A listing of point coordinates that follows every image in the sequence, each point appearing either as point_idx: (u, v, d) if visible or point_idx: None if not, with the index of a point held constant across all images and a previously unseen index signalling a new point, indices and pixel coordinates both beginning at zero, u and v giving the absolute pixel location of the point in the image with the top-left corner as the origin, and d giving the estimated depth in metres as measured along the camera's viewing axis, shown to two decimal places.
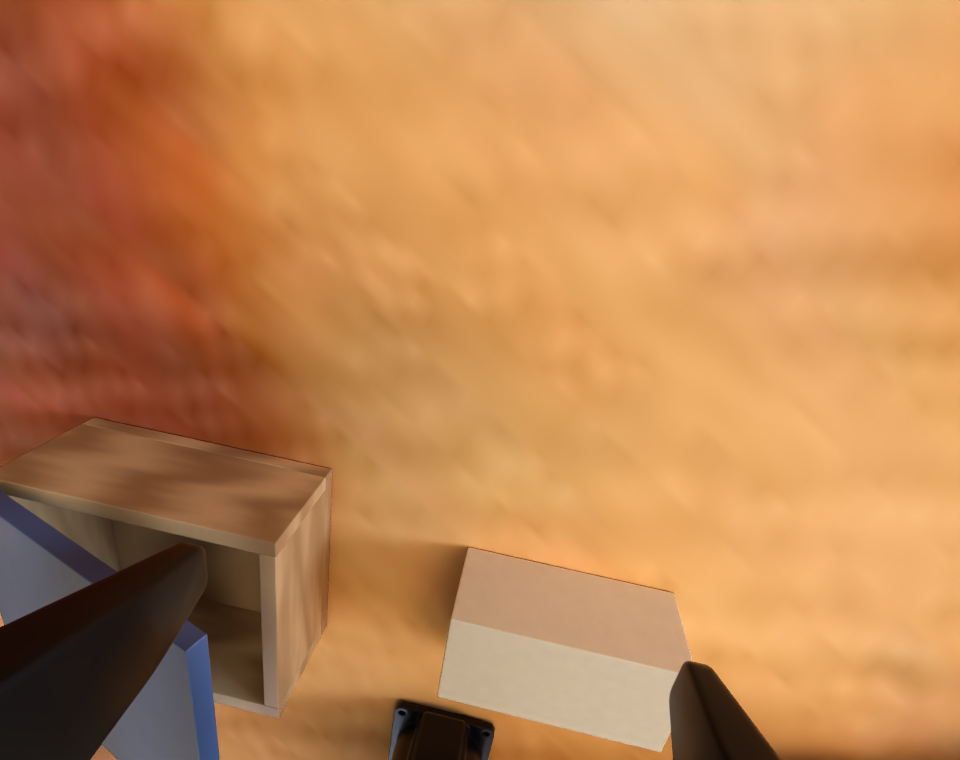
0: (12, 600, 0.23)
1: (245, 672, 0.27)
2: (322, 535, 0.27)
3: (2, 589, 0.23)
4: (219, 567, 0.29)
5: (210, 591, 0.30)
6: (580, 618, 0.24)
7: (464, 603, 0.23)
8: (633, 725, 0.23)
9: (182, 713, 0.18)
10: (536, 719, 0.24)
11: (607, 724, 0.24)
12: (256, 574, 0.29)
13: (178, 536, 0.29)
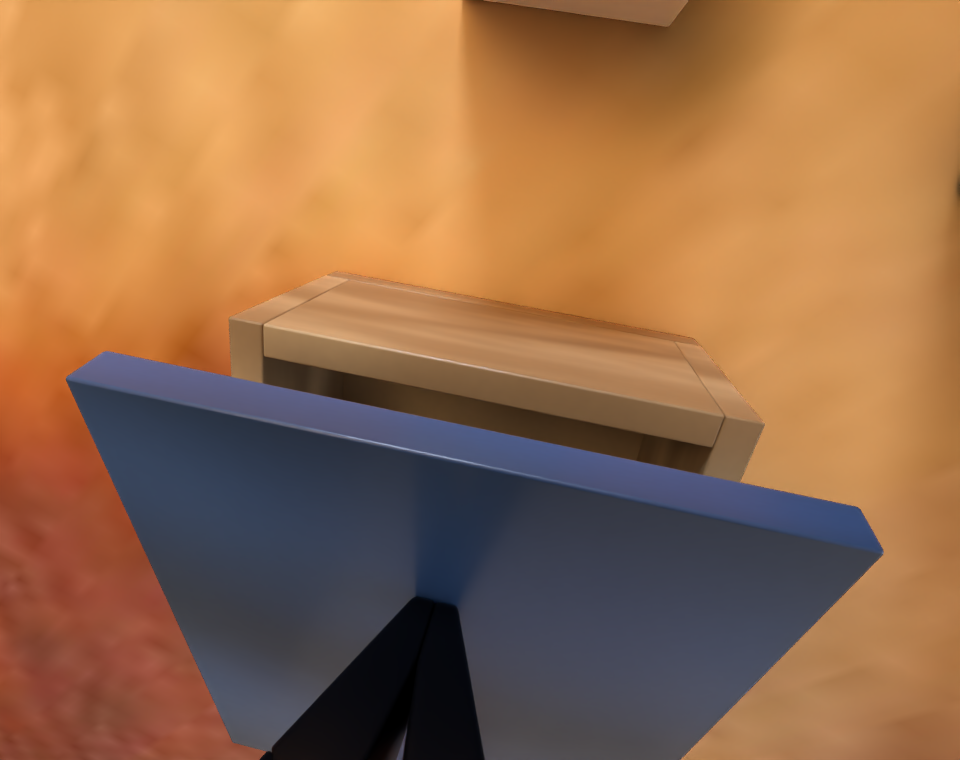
0: None
1: None
2: (434, 297, 0.15)
3: None
4: None
5: None
6: None
7: None
8: None
9: (307, 461, 0.07)
10: None
11: None
12: (546, 437, 0.17)
13: None
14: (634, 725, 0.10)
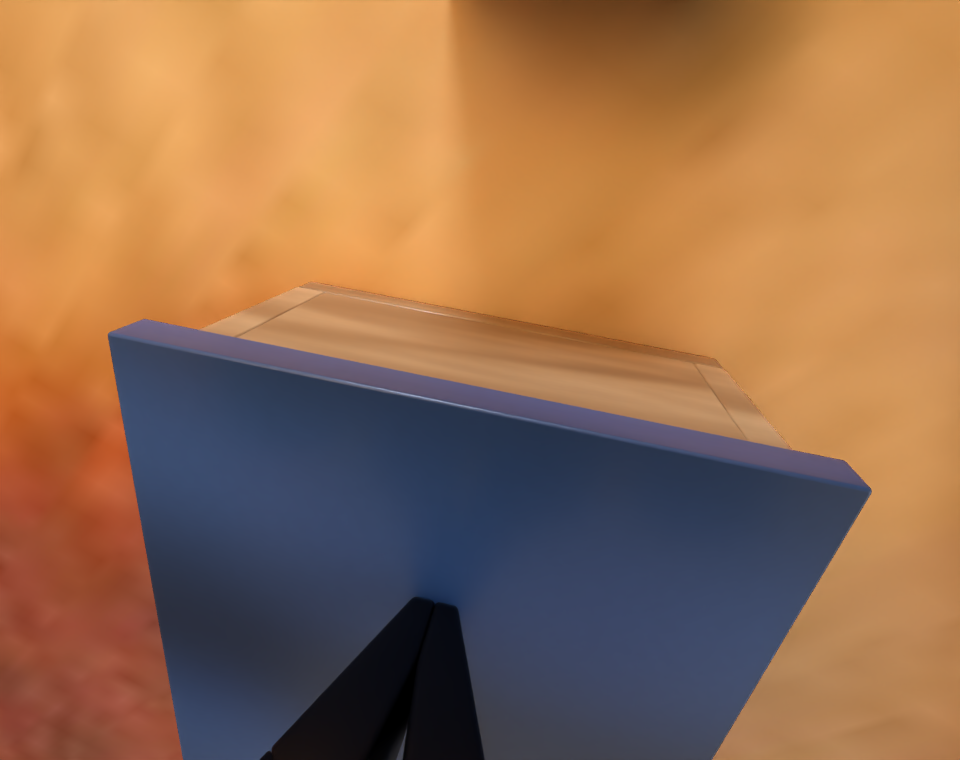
0: None
1: None
2: (420, 313, 0.13)
3: None
4: None
5: None
6: None
7: None
8: None
9: (330, 415, 0.08)
10: None
11: None
12: None
13: None
14: (645, 740, 0.10)
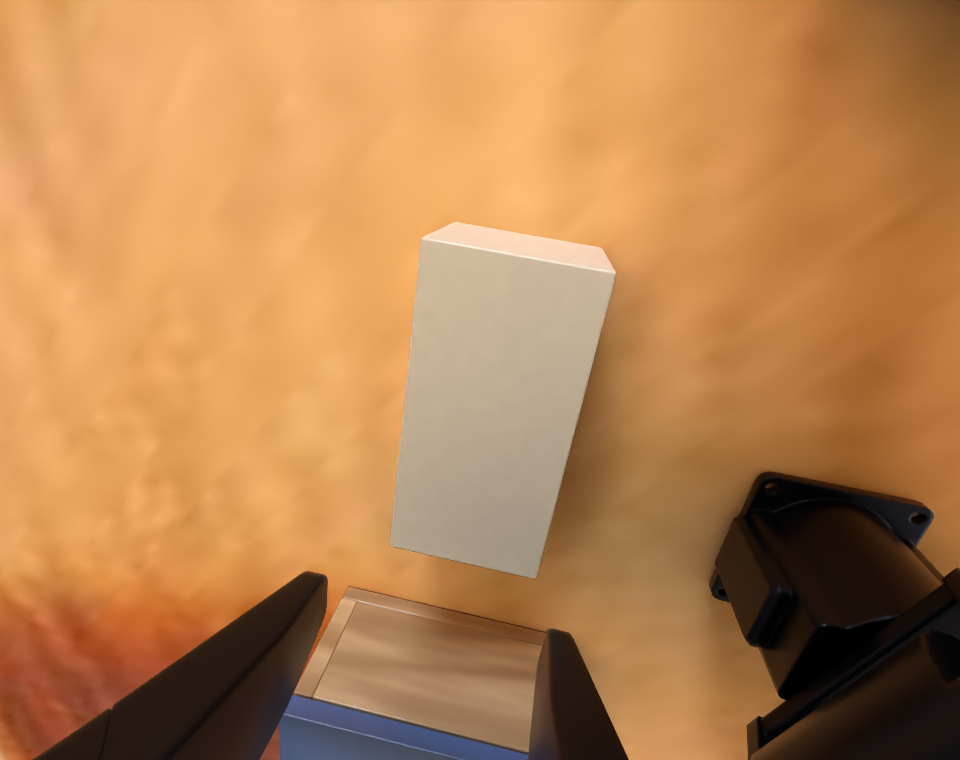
0: None
1: None
2: (409, 618, 0.25)
3: None
4: None
5: None
6: None
7: None
8: (550, 323, 0.14)
9: (369, 746, 0.19)
10: (560, 462, 0.16)
11: (554, 361, 0.15)
12: None
13: None
14: None
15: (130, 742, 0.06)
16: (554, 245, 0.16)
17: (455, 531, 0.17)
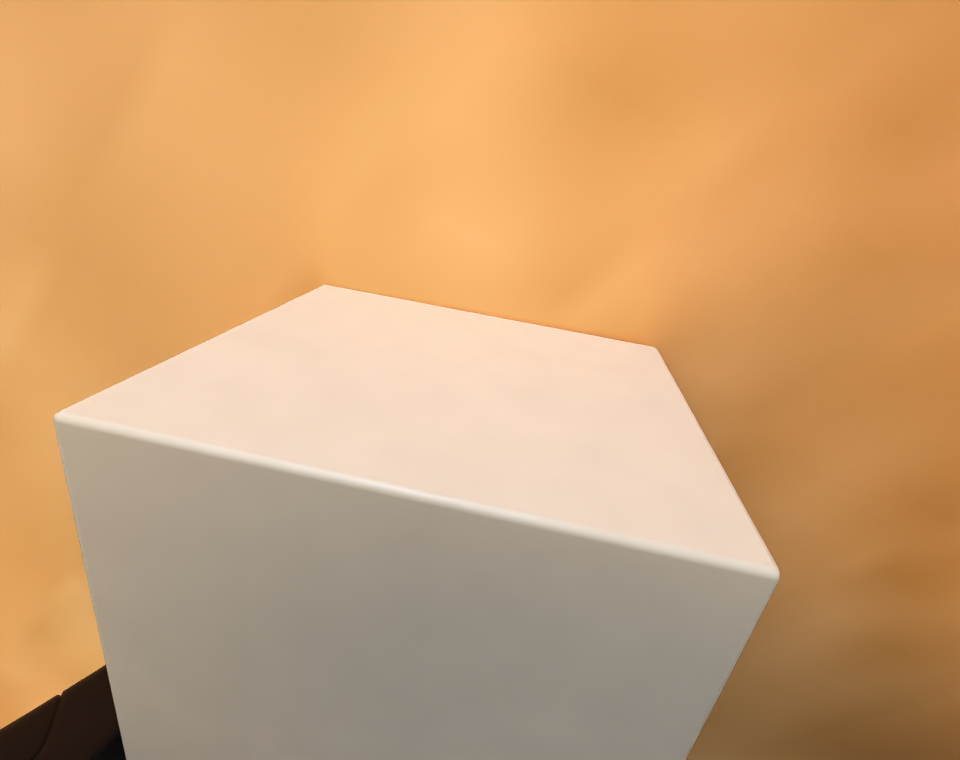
0: None
1: None
2: None
3: None
4: None
5: None
6: None
7: None
8: (526, 691, 0.04)
9: None
10: None
11: None
12: None
13: None
14: None
15: (75, 727, 0.06)
16: (545, 363, 0.06)
17: None
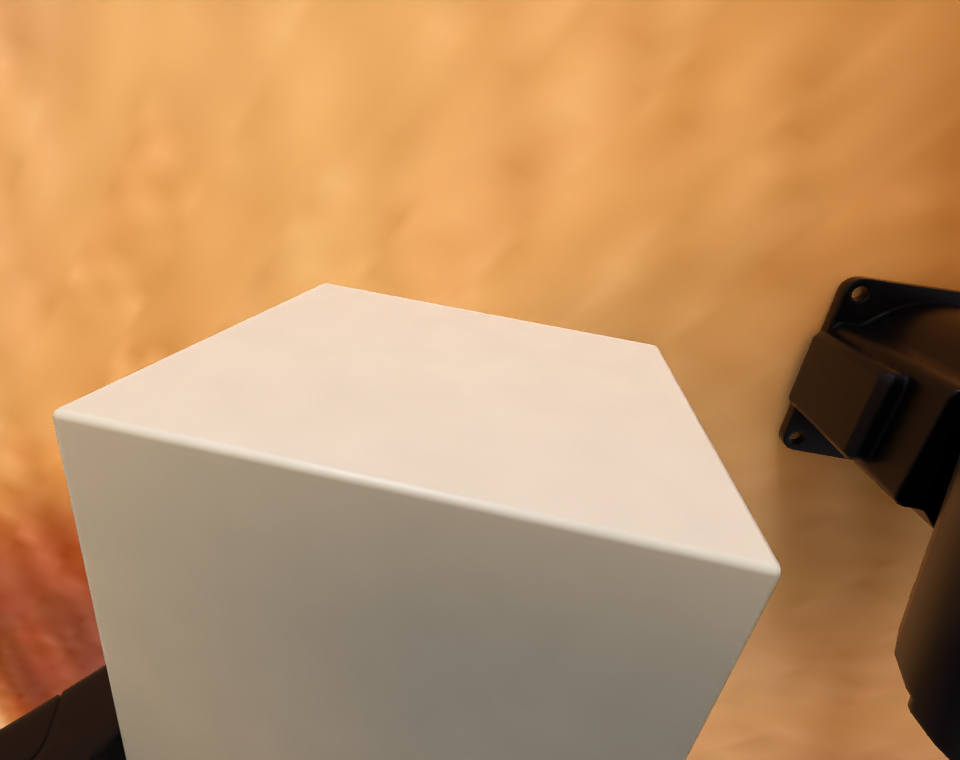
0: None
1: None
2: None
3: None
4: None
5: None
6: None
7: None
8: (527, 689, 0.04)
9: None
10: None
11: None
12: None
13: None
14: None
15: (76, 727, 0.06)
16: (545, 361, 0.06)
17: None
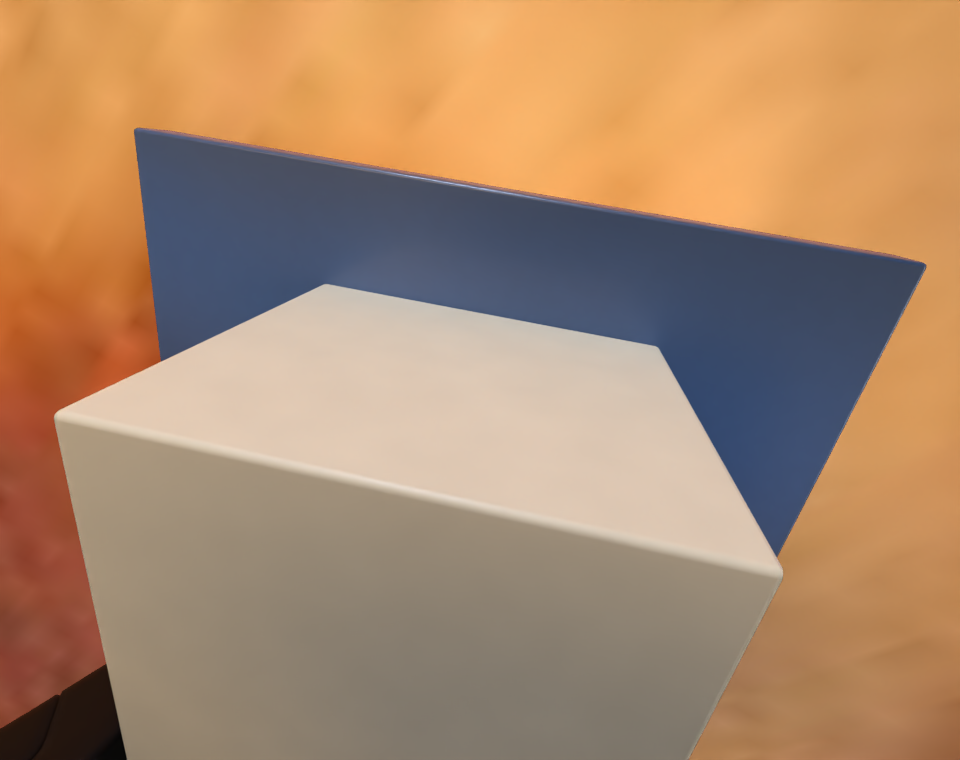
0: None
1: None
2: None
3: None
4: None
5: None
6: None
7: None
8: (528, 690, 0.04)
9: (363, 212, 0.08)
10: None
11: None
12: None
13: None
14: None
15: (75, 727, 0.06)
16: (546, 362, 0.06)
17: None
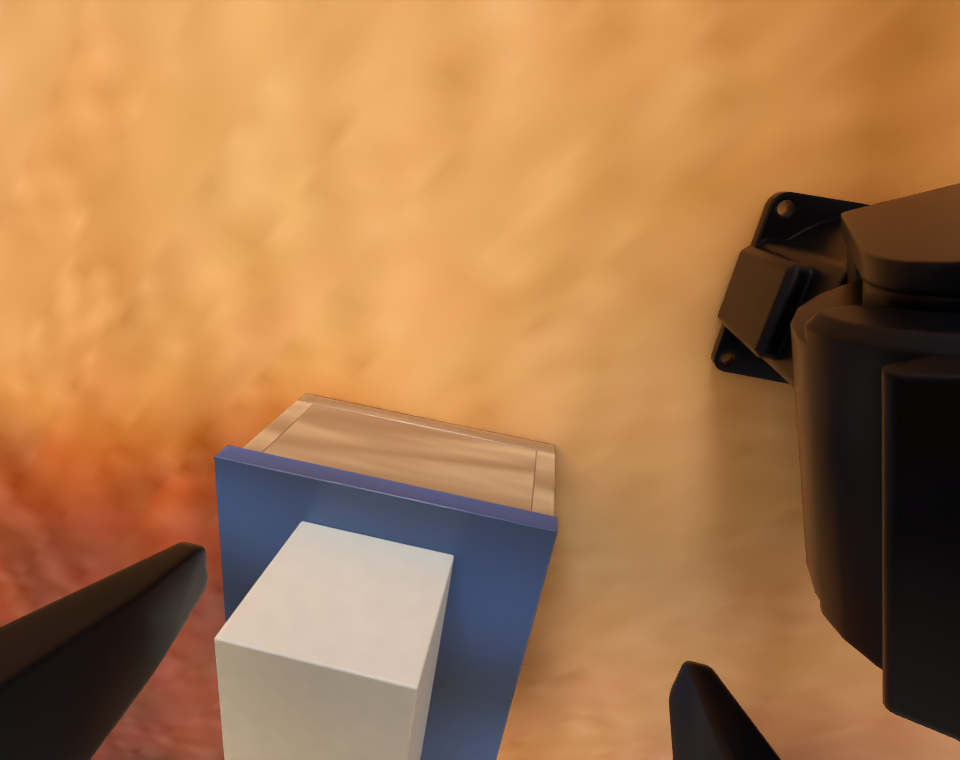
0: None
1: None
2: (372, 418, 0.22)
3: None
4: None
5: None
6: None
7: None
8: (358, 718, 0.13)
9: (318, 495, 0.17)
10: None
11: (367, 748, 0.14)
12: None
13: None
14: (484, 661, 0.18)
15: None
16: (389, 581, 0.15)
17: None
